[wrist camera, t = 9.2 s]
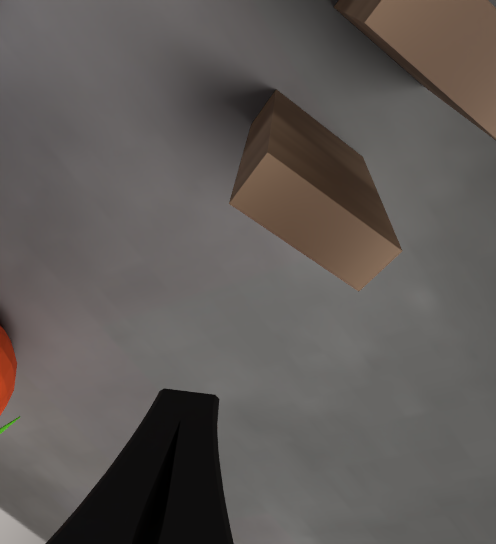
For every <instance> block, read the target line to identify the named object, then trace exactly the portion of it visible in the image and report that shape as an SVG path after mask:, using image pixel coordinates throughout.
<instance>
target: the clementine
mask: <svg viewBox="0 0 496 544" xmlns="http://www.w3.org/2000/svg"><path fill="white" fill-rule="evenodd" d="M16 368H17V362H16V357H15V353H14V350H13V346H12V343H11V340H10V339H9V337H8V335H7V333H6V332H5V330H4V329H3V328H2V327H1V326H0V415H1V413H2V412H3V410H4V409H5V407H6V405H7V403H8V401H9V399H10V397H11V395H12V393H13V391H14V385H15V377H16ZM19 418H20V417H18V418H16V419H15V420H13V421H11V422H10V423H8V424H7V425H5V426H3V427H2V428H0V434H1V433H2V432H3V431H4V430H6V429H7V428H8V427H9V426H10V425H11V424H13V423H14V422H15V421H16V420H17V419H19Z"/></svg>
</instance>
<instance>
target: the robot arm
mask: <svg viewBox="0 0 496 544" xmlns="http://www.w3.org/2000/svg"><path fill="white" fill-rule="evenodd" d="M218 408H219V398H218V397H217V396H216V395H212V394H204V393H196V392H188V391H180V390H172V389H163V390H161V391H159V393H158V395H157V397H156V399H155V401H154V402H153V404H152V406H151V408H150V409H149V411H148V413H147V414H146V416H145V417H144V419H143V421H142V422H141V424H140V425H139V427H138V428H137V430H136V431H135V433H134V434H133V436H132V437H131V439H130V440H129V441H128V443H127V444H126V446H125V447H124V448H123V450H122V451H121V452H120V454H119V455H118V457H117V458H116V459H115V461H114V462H113V464H112V465H111V466H110V468H109V469H108V470H107V472H106V473H105V474H104V475H103V477H102V478H101V479H100V480H99V482H98V483H97V484H96V485H95V487H94V488H93V489H92V490H91V492H90V493H89V494H88V495H87V497H86V498H85V499H84V500H83V502H82V503H81V504H80V505H79V506H78V508H77V509H76V510H75V511H74V512H73V513H72V515H71V516H70V517H69V518H68V519H67V520H66V522H65V523H64V524H63V525H62V526H61V527H60V528H59V529H58V531H57V532H56V533H55V534H54V535H53V536H52V537H51V538H50V539H49V540H48V542H47V543H46V544H234V543H233V539H232V534H231V529H230V524H229V519H228V514H227V509H226V503H225V497H224V491H223V484H222V477H221V470H220V462H219V452H218V437H217V421H218Z"/></svg>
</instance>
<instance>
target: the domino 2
mask: <svg viewBox="0 0 496 544" xmlns="http://www.w3.org/2000/svg"><path fill="white" fill-rule="evenodd" d="M334 8H335V9H336V10H337V11H338V12H340V13H341V14H342V15H343V16H344V17H345V18H346V19H348V20H349V21H350V22H351V23H352V24H353V25H354V26H356V27H357V28H358V29H359V30H360V31H361V32H363V33H364V34H365V35H366V36H367V37H368V38H369V39H371V40H372V41H373V42H374V43H375V44H376V45H377V46H379V47H380V48H381V49H382V50H383V51H384V52H385V53H387V54H388V55H389V56H390V57H391V58H392V59H393V60H395V61H396V62H397V63H398V64H399V65H400V66H401V67H403V68H404V69H405V70H406V71H407V72H408V73H409V74H411V75H412V76H413V77H414V78H415V79H416V80H417V81H419V82H420V83H421V84H422V85H423V86H424V87H426V88H427V89H428V90H429V91H431V92H432V93H433V94H435V95H436V96H437V97H439V98H440V99H441V100H443V101H444V102H445V103H447V104H448V105H449V106H451V107H452V108H453V109H455V110H456V111H457V112H459V113H460V114H461V115H463V116H464V117H465V118H467V119H468V120H469V121H471V122H472V123H473V124H475V125H476V126H477V127H479V128H480V129H481V130H483V131H484V132H485V133H487V134H488V135H489V136H491V137H492V138H493V139H495V140H496V8H495V7H494V6H493V5H492V4H491V3H490V2H489V1H488V0H339V1H338V2H337V3H336V5H335V6H334Z"/></svg>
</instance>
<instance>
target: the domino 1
mask: <svg viewBox="0 0 496 544" xmlns="http://www.w3.org/2000/svg"><path fill="white" fill-rule="evenodd" d="M229 204H230V205H232V206H233V207H235V208H236V209H238V210H239V211H241V212H242V213H244V214H245V215H247V216H248V217H250V218H251V219H253V220H254V221H255V222H257V223H258V224H260V225H261V226H263V227H264V228H266V229H267V230H269V231H270V232H272V233H273V234H275V235H276V236H278V237H279V238H281V239H282V240H284V241H285V242H286V243H288V244H289V245H291V246H292V247H294V248H295V249H297V250H298V251H300V252H301V253H303V254H304V255H306V256H307V257H309V258H310V259H312V260H313V261H315V262H316V263H317V264H319V265H320V266H322V267H323V268H325V269H326V270H328V271H329V272H331V273H332V274H334V275H335V276H337V277H338V278H340V279H341V280H343V281H344V282H346V283H347V284H348V285H350V286H351V287H353V288H354V289H356V290H357V291H360V290H361V289H362V288H363V287H364V286H365V285H367V284H368V283H369V282H370V281H371V280H372V279H373V278H374V277H375V276H376V275H377V274H378V273H379V272H380V271H382V270H383V269H384V268H385V267H386V266H387V265H388V264H389V263H390V262H391V261H392V260H393V259H394V258H395V257H397V256H398V255H399V254H400V253H401V252H402V249H401V246H400V244H399V242H398V239H397V237H396V235H395V232H394V230H393V227H392V225H391V223H390V220H389V218H388V216H387V213H386V211H385V208H384V206H383V204H382V201H381V199H380V197H379V194H378V192H377V189H376V187H375V185H374V182H373V180H372V178H371V175H370V173H369V171H368V168H367V166H366V163H365V161H364V159H363V157H362V156H361V155H360V154H358V153H357V152H356V151H355V150H353V149H352V148H351V147H349V146H348V145H347V144H346V143H344V142H343V141H342V140H340V139H339V138H338V137H337V136H335V135H334V134H333V133H332V132H330V131H329V130H328V129H326V128H325V127H324V126H323V125H321V124H320V123H319V122H317V121H316V120H315V119H314V118H312V117H311V116H310V115H308V114H307V113H306V112H305V111H303V110H302V109H301V108H300V107H298V106H297V105H296V104H294V103H293V102H292V101H291V100H289V99H288V98H287V97H285V96H284V95H283V94H282V93H280V92H279V91H278V90H275V92H274V93H273V94H272V96H271V97H270V99H269V100H268V102H267V103H266V104H265V106H264V107H263V109H262V110H261V111H260V113H259V114H258V116H257V117H256V119H255V120H254V121H253V123H252V124H251V127H250V131H249V134H248V138H247V141H246V145H245V148H244V152H243V156H242V159H241V163H240V166H239V170H238V173H237V177H236V180H235V184H234V188H233V191H232V195H231V198H230V202H229Z"/></svg>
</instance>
